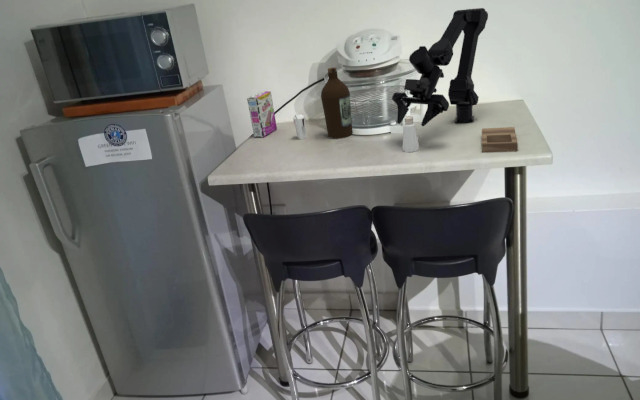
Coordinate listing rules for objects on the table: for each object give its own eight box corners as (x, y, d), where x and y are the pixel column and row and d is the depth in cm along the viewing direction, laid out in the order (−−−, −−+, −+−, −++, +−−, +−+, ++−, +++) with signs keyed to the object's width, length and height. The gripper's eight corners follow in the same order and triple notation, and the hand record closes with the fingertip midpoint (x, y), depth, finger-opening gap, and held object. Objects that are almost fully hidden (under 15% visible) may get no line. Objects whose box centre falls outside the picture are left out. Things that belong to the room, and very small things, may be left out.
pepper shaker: (401, 148, 162) (399, 115, 158) (418, 146, 162) (415, 113, 157) (403, 153, 157) (401, 120, 153) (420, 151, 157) (418, 117, 152)
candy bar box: (264, 137, 197) (256, 97, 190) (254, 137, 199) (245, 98, 192) (278, 129, 206) (271, 90, 199) (268, 129, 208) (260, 91, 201)
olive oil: (321, 138, 185) (311, 71, 175) (336, 129, 193) (328, 65, 183) (344, 140, 179) (336, 71, 169) (359, 131, 187) (352, 64, 176)
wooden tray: (481, 135, 162) (481, 128, 161) (514, 134, 159) (514, 126, 158) (481, 152, 148) (481, 144, 147) (517, 151, 145) (517, 143, 144)
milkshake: (293, 140, 187) (289, 115, 183) (299, 136, 192) (294, 111, 188) (304, 140, 186) (300, 114, 182) (309, 135, 190) (305, 110, 186)
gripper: (392, 67, 159) (374, 109, 157) (443, 68, 147) (424, 113, 144) (408, 86, 167) (391, 126, 165) (457, 88, 155) (439, 131, 152)
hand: (410, 124), depth 156 cm, fingers open, 9 cm apart
